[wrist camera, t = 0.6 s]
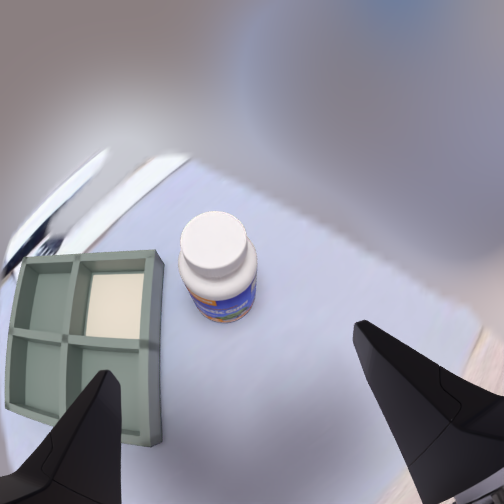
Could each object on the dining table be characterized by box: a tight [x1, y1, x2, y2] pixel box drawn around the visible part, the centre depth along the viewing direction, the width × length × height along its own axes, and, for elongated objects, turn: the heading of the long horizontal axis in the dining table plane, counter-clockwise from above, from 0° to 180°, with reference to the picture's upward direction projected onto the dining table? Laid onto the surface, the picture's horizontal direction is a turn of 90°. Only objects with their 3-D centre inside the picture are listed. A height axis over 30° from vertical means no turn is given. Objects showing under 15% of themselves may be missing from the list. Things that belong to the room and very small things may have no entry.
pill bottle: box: [178, 211, 257, 323], centre depth 21 cm, size 5×5×10 cm
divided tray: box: [5, 250, 164, 447], centre depth 21 cm, size 16×16×3 cm
